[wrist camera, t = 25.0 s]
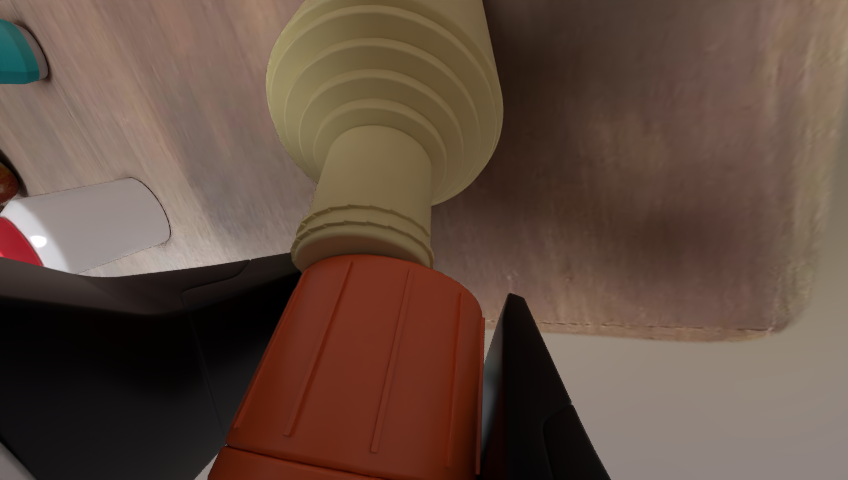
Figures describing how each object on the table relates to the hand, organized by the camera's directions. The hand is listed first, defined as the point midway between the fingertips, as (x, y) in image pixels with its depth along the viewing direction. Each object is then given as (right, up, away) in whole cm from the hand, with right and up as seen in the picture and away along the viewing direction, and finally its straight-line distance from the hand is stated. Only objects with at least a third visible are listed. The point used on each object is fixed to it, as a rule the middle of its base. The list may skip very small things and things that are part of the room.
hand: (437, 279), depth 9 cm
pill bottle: (-32, +5, +26) cm, 41 cm away
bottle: (-1, +11, +4) cm, 12 cm away
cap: (-1, 0, -2) cm, 2 cm away
